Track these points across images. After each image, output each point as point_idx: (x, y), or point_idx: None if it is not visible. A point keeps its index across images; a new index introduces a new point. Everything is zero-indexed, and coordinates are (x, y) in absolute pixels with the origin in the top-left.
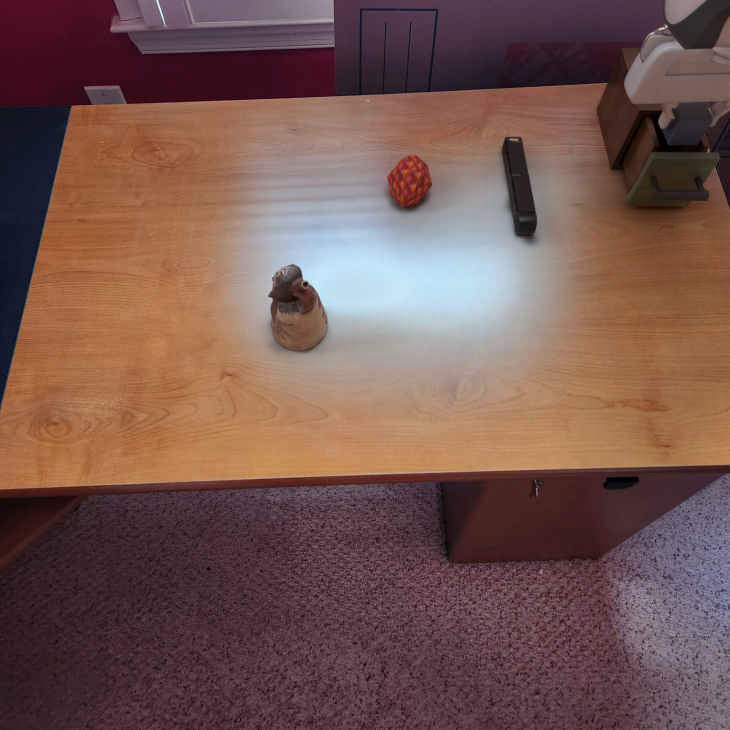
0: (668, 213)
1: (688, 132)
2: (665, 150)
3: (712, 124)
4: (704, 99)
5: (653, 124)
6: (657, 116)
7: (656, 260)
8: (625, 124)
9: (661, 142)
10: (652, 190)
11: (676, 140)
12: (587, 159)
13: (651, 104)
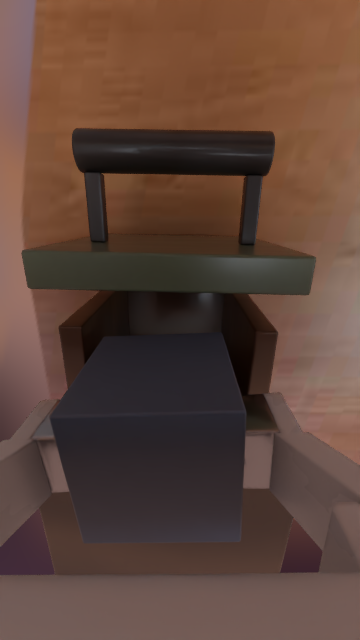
0: (146, 225)
1: (166, 365)
2: None
3: (46, 407)
4: (170, 622)
5: None
6: None
7: (211, 47)
8: None
9: None
10: (216, 239)
11: (201, 344)
12: (283, 378)
13: (247, 506)
